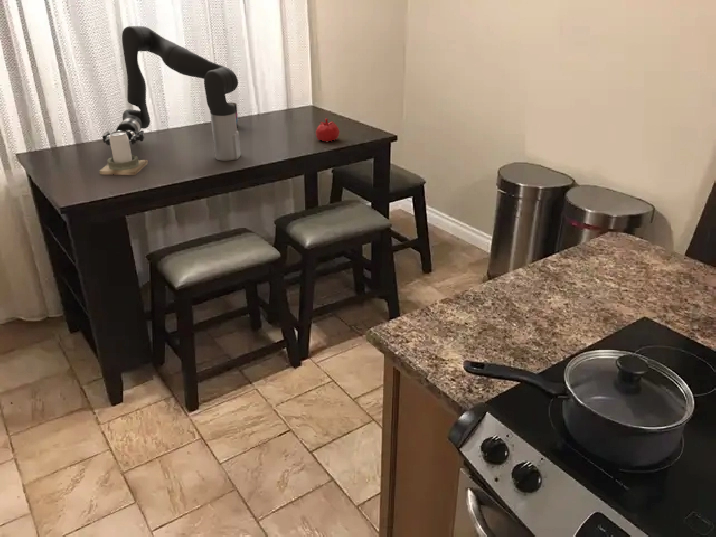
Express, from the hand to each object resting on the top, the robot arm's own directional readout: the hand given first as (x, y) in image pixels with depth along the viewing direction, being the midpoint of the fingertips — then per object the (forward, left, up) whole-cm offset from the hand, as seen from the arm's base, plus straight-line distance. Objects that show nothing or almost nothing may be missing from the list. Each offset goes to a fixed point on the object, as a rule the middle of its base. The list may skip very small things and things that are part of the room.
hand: (120, 142), depth 222 cm
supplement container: (-27, -56, -10) cm, 63 cm away
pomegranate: (-72, -39, -10) cm, 83 cm away
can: (0, +1, -9) cm, 9 cm away
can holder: (0, +1, -10) cm, 10 cm away
